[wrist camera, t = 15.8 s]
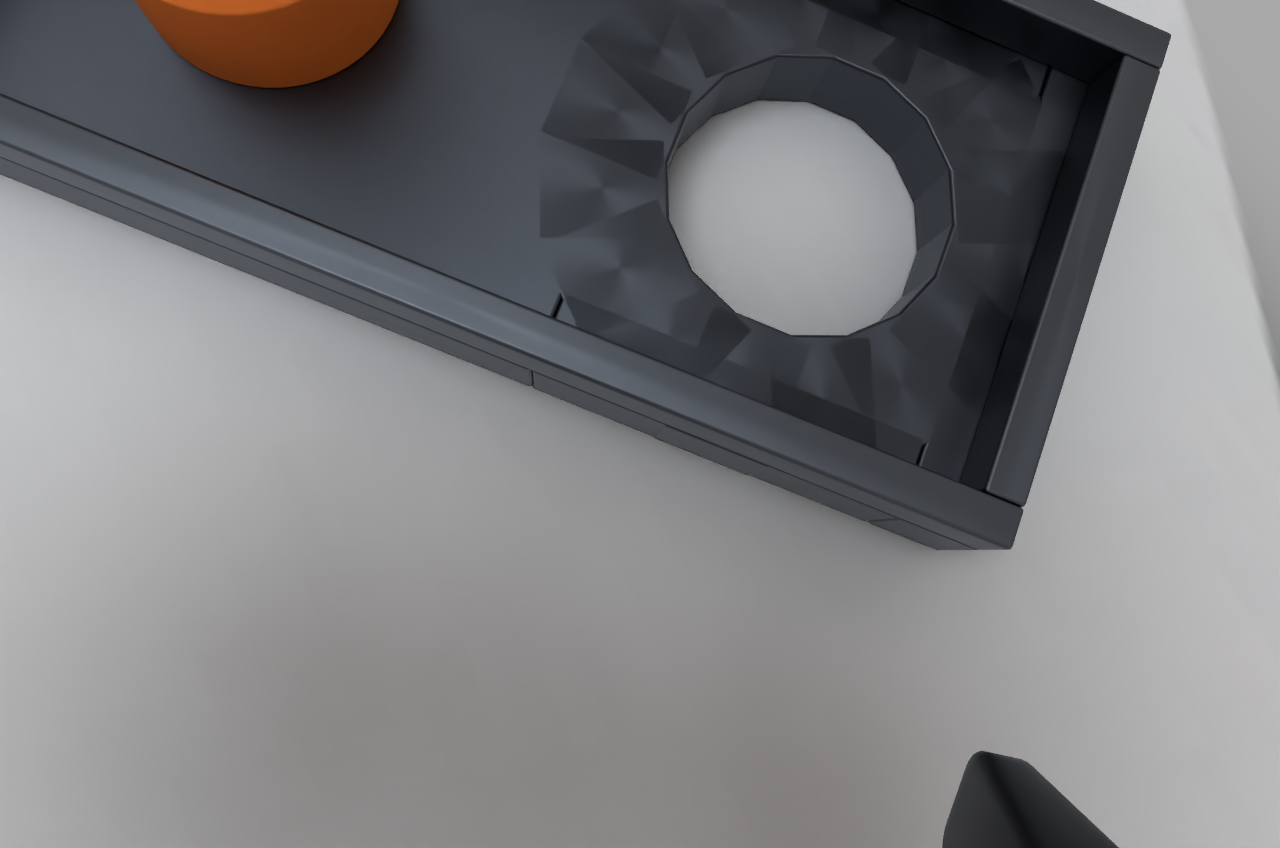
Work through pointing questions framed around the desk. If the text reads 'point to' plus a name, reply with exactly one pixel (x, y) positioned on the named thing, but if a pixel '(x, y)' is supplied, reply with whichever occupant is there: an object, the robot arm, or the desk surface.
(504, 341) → the sink rim
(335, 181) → the sink
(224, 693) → the desk surface
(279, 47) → the plug
